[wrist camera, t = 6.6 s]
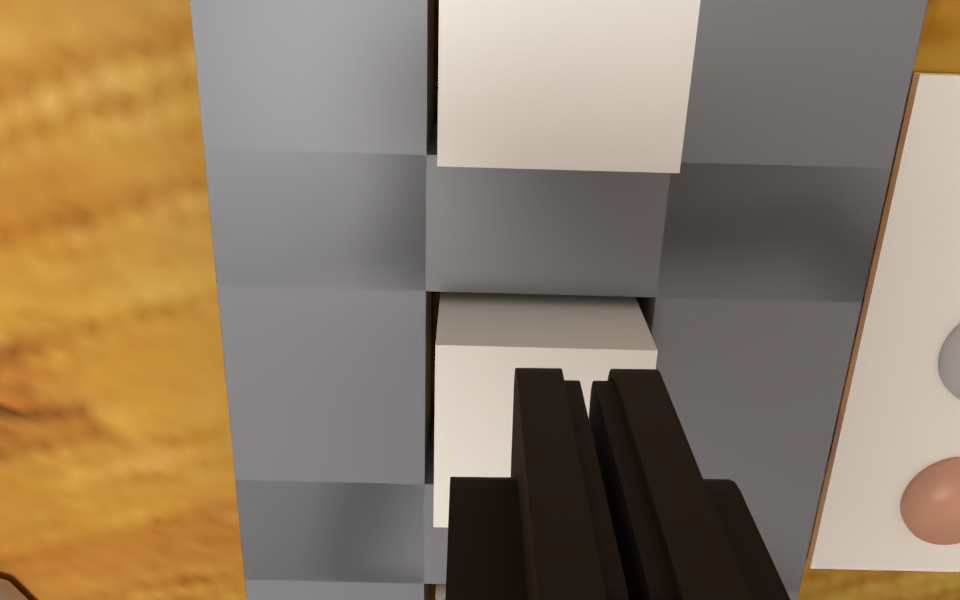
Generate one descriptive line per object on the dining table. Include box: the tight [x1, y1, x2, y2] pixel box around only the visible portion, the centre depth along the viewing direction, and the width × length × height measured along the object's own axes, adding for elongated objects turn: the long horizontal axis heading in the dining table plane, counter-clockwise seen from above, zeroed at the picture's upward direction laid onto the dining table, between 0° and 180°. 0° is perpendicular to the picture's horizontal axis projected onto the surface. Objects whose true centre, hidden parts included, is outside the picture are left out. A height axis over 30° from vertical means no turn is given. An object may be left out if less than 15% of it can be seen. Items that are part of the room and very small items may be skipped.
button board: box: [190, 0, 928, 600], centre depth 22 cm, size 14×26×3 cm, turn 178°
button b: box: [433, 292, 658, 528], centre depth 20 cm, size 4×4×4 cm
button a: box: [437, 0, 701, 173], centre depth 17 cm, size 4×4×4 cm
